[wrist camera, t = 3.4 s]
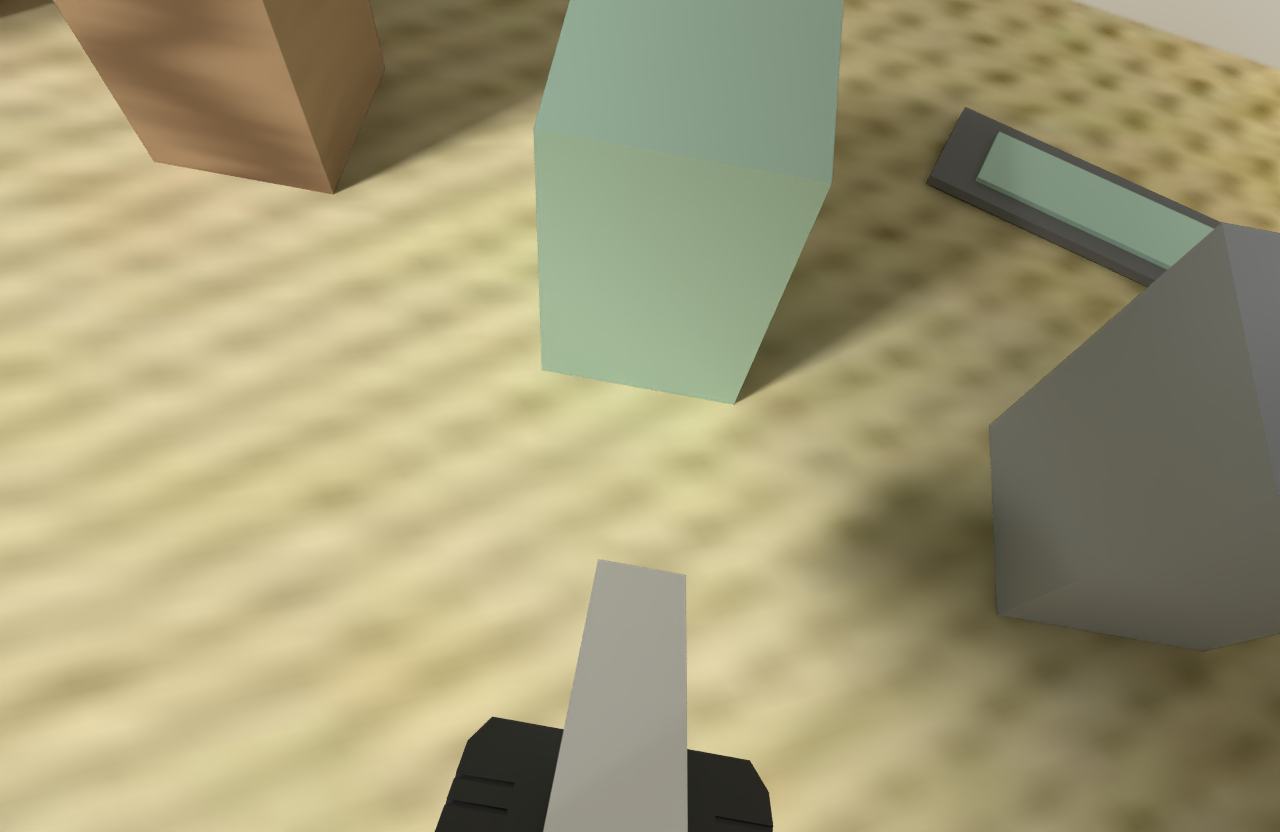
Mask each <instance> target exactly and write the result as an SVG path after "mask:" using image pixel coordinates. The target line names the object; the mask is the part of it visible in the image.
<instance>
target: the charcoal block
mask: <svg viewBox="0 0 1280 832" xmlns="http://www.w3.org/2000/svg"><path fill="white" fill-rule="evenodd" d="M989 432H990V457H991V482H992V507H993V532H994V557H995V582H996V607H997V615H1000V616H1005V617H1011V618H1017V619H1023V620H1028V621H1034V622H1040V623H1045V624H1051V625H1057V626H1062V627H1068V628H1074V629H1079V630H1085V631H1091V632H1097V633H1102V634H1108V635H1114V636H1119V637H1125V638H1131V639H1136V640H1142V641H1148V642H1153V643H1159V644H1165V645H1170V646H1176V647H1182V648H1188V649H1193V650H1199V651H1207V650H1211V649H1215V648H1219V647H1224V646H1228V645H1232V644H1236V643H1241V642H1245V641H1249V640H1253V639H1258V638H1262V637H1266V636H1270V635H1275V634H1279V633H1280V233H1277V232H1271V231H1266V230H1260V229H1255V228H1250V227H1244V226H1239V225H1233V224H1228V223H1223V222H1222V223H1221V224H1219V225H1218V226H1217V227H1216V228H1215V229H1214V230H1213V231H1211V232H1210V233H1209V234H1208V235H1207V236H1206V237H1205V238H1203V239H1202V240H1201V241H1200V242H1199V243H1198V244H1197V245H1195V246H1194V247H1193V248H1192V249H1191V250H1190V251H1189V252H1187V253H1186V254H1185V255H1184V256H1183V257H1182V258H1181V259H1179V260H1178V261H1177V262H1176V263H1175V264H1174V265H1173V266H1171V267H1170V268H1169V269H1168V270H1167V271H1166V272H1165V273H1163V274H1162V275H1161V276H1160V277H1159V278H1158V279H1157V280H1155V281H1154V282H1153V283H1152V284H1151V285H1150V286H1149V287H1147V288H1146V289H1145V290H1144V291H1143V292H1142V293H1140V294H1139V295H1138V296H1137V297H1136V298H1135V299H1134V300H1132V301H1131V302H1130V303H1129V304H1128V305H1127V306H1126V307H1124V308H1123V309H1122V310H1121V311H1120V312H1119V313H1118V314H1116V315H1115V316H1114V317H1113V318H1112V319H1111V320H1110V321H1108V322H1107V323H1106V324H1105V325H1104V326H1103V327H1102V328H1100V329H1099V330H1098V331H1097V332H1096V333H1095V334H1094V335H1092V336H1091V337H1090V338H1089V339H1088V340H1087V341H1086V342H1084V343H1083V344H1082V345H1081V346H1080V347H1079V348H1078V349H1076V350H1075V351H1074V352H1073V353H1072V354H1071V355H1070V356H1068V357H1067V358H1066V359H1065V360H1064V361H1063V362H1061V363H1060V364H1059V365H1058V366H1057V367H1056V368H1055V369H1053V370H1052V371H1051V372H1050V373H1049V374H1048V375H1047V376H1045V377H1044V378H1043V379H1042V380H1041V381H1040V382H1039V383H1037V384H1036V385H1035V386H1034V387H1033V388H1032V389H1031V390H1029V391H1028V392H1027V393H1026V394H1025V395H1024V396H1023V397H1021V398H1020V399H1019V400H1018V401H1017V402H1016V403H1015V404H1013V405H1012V406H1011V407H1010V408H1009V409H1008V410H1007V411H1005V412H1004V413H1003V414H1002V415H1001V416H1000V417H999V418H997V419H996V420H995V421H994V422H993V423H992V424H991V425H989Z"/></svg>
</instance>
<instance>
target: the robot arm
mask: <svg viewBox="0 0 1280 832" xmlns="http://www.w3.org/2000/svg"><path fill="white" fill-rule="evenodd" d="M435 832H773V821H772V814H771V806H770V798H769V792H768V790H767V788H766V787H765V785H764V783H763V782H762V780H761V778H760V777H759V775H758V773H757V772H756V770H755V768H754V767H753V765H752V763H751V762H750V760H745V759H739V758H733V757H728V756H722V755H717V754H711V753H706V752H700V751H695V750H689V749H687V659H686V575H683V574H677V573H672V572H666V571H661V570H655V569H650V568H644V567H639V566H633V565H628V564H622V563H617V562H611V561H606V560H600V559H598V564H597V569H596V574H595V578H594V583H593V588H592V593H591V598H590V603H589V608H588V613H587V618H586V623H585V628H584V633H583V638H582V643H581V648H580V652H579V657H578V662H577V667H576V672H575V677H574V682H573V687H572V692H571V697H570V702H569V707H568V712H567V717H566V722H565V727H564V729H558V728H552V727H547V726H541V725H536V724H530V723H525V722H519V721H514V720H508V719H502V718H497V717H492V718H491V719H489V720H488V721H487V722H486V723H485V724H484V725H483V726H482V727H481V728H480V729H479V730H478V731H477V732H476V733H475V734H474V735H473V736H472V737H471V738H470V739H469V740H468V741H467V744H466V747H465V749H464V752H463V755H462V758H461V760H460V763H459V766H458V769H457V772H456V776H455V778H454V780H453V783H452V786H451V788H450V791H449V794H448V797H447V801H446V804H445V805H444V808H443V811H442V813H441V816H440V819H439V822H438V824H437V827H436V830H435Z"/></svg>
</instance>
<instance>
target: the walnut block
mask: <svg viewBox="0 0 1280 832" xmlns="http://www.w3.org/2000/svg"><path fill="white" fill-rule="evenodd" d="M53 1H54V2H55V4H56V6H57V7H58V9H59V10H60V12H61V14H62V15H63V17H64V18H65V20H66V22H67V23H68V25H69V26H70V28H71V30H72V31H73V33H74V34H75V36H76V38H77V39H78V41H79V42H80V44H81V46H82V47H83V49H84V50H85V52H86V54H87V55H88V57H89V58H90V60H91V62H92V63H93V65H94V66H95V68H96V70H97V71H98V73H99V74H100V76H101V78H102V79H103V81H104V82H105V84H106V86H107V87H108V89H109V90H110V92H111V93H112V95H113V97H114V98H115V100H116V101H117V103H118V105H119V106H120V108H121V109H122V111H123V113H124V114H125V116H126V117H127V119H128V121H129V122H130V124H131V125H132V127H133V129H134V130H135V132H136V133H137V135H138V137H139V138H140V140H141V141H142V143H143V145H144V146H145V148H146V149H147V151H148V153H149V154H150V156H151V157H152V159H153V161H154V162H159V163H164V164H170V165H175V166H181V167H186V168H192V169H197V170H203V171H208V172H214V173H219V174H225V175H230V176H236V177H241V178H247V179H252V180H258V181H263V182H269V183H274V184H280V185H285V186H291V187H296V188H302V189H307V190H313V191H318V192H324V193H329V194H334V191H335V189H336V187H337V184H338V182H339V179H340V177H341V174H342V172H343V170H344V167H345V165H346V162H347V160H348V157H349V155H350V152H351V150H352V148H353V145H354V143H355V140H356V138H357V135H358V133H359V130H360V128H361V126H362V123H363V121H364V118H365V116H366V113H367V111H368V108H369V106H370V104H371V101H372V99H373V96H374V94H375V91H376V89H377V87H378V84H379V82H380V79H381V77H382V74H383V72H384V69H385V65H384V61H383V57H382V52H381V48H380V44H379V39H378V35H377V31H376V27H375V22H374V18H373V14H372V9H371V5H370V1H369V0H53Z"/></svg>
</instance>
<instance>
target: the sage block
mask: <svg viewBox="0 0 1280 832" xmlns="http://www.w3.org/2000/svg"><path fill="white" fill-rule="evenodd" d="M843 1H844V0H570V2H569V5H568V9H567V12H566V16H565V19H564V23H563V26H562V30H561V33H560V37H559V40H558V44H557V47H556V51H555V55H554V58H553V62H552V65H551V69H550V72H549V76H548V79H547V83H546V86H545V90H544V93H543V97H542V100H541V104H540V107H539V111H538V114H537V118H536V122H535V125H534V155H535V184H536V214H537V243H538V273H539V302H540V331H541V361H542V370H544V371H549V372H555V373H560V374H566V375H571V376H577V377H583V378H588V379H594V380H599V381H605V382H611V383H616V384H622V385H627V386H633V387H638V388H644V389H650V390H655V391H661V392H666V393H672V394H677V395H683V396H689V397H694V398H700V399H705V400H711V401H716V402H722V403H728V404H733V405H734V403H735V401H736V398H737V396H738V394H739V392H740V389H741V387H742V385H743V383H744V380H745V378H746V376H747V374H748V371H749V369H750V367H751V365H752V362H753V360H754V358H755V355H756V353H757V351H758V349H759V346H760V344H761V342H762V340H763V337H764V335H765V333H766V331H767V328H768V326H769V324H770V322H771V319H772V317H773V315H774V313H775V310H776V308H777V306H778V304H779V301H780V299H781V297H782V295H783V292H784V290H785V288H786V286H787V283H788V281H789V279H790V277H791V274H792V272H793V270H794V268H795V265H796V263H797V261H798V258H799V256H800V254H801V252H802V249H803V247H804V245H805V243H806V240H807V238H808V236H809V234H810V231H811V229H812V227H813V225H814V222H815V220H816V218H817V216H818V213H819V211H820V209H821V207H822V204H823V202H824V200H825V198H826V195H827V193H828V191H829V189H830V186H831V184H832V173H833V158H834V142H835V126H836V111H837V95H838V79H839V64H840V48H841V32H842V17H843Z"/></svg>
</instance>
